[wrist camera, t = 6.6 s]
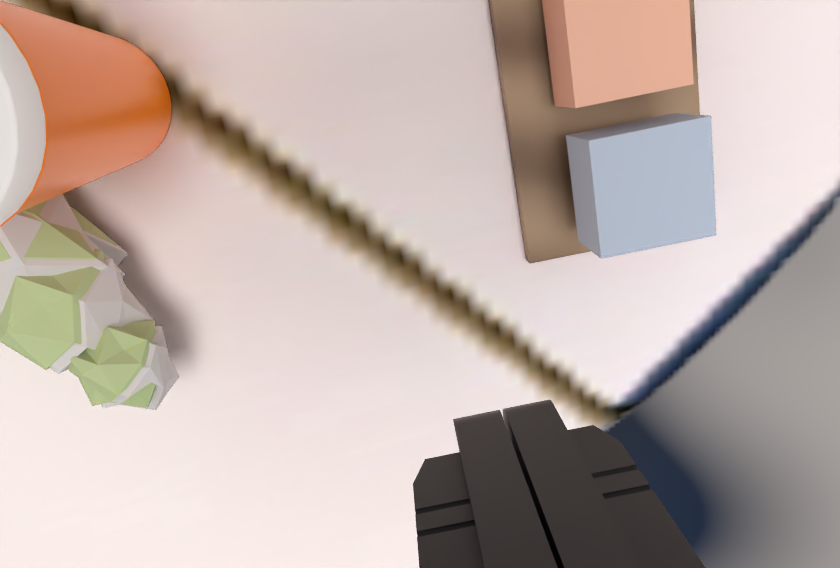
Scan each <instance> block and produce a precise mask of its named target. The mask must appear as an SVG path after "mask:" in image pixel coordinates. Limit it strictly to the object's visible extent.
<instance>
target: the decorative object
mask: <svg viewBox="0 0 840 568" xmlns="http://www.w3.org/2000/svg"><path fill="white" fill-rule="evenodd" d="M127 255H128V253H127V252H126V251H125V250H123V249H122V248H121V247H120V246H119V245H117V244H116V243H115V242H114V241H113V240H111V239H110V238H109V237H108V236H107V235H105V234H104V233H103V232H102V231H101V230H99V229H98V228H97V227H96V226H95V225H93V224H92V223H91V222H90V221H89V220H87V219H86V218H85V217H84V216H83V215H81V214H80V213H79V212H78V211H76V210H75V209H74V208H73V207H70V206H69V204H68V202H67V200H66V199H65V197H64V195H63V194H61V195H59V196H56V197H54V198H52V199H49V200H47V201H45V202H43V203H40V204H38V205H36V206H33V207H31V208H29V209H26V210H24V211H22V212H19V213H17V214H16V215H15V216H14V217H12V218H11V219H10V220H9V221H8V222H6V223H5V224H4V225H3V226H2V227H0V342H2V343H3V344H5V345H7V346H8V347H10V348H11V349H13V350H15V351H16V352H18V353H19V354H21V355H23V356H24V357H26V358H28V359H29V360H31V361H32V362H34V363H36V364H37V365H39V366H41V367H42V368H44V369H45V370H46V369H49V368H51V369H52V370H54V371H55V372H57V373H61V372H63V371H65V370H67V369H69V371H70V372H71V373H73V374H74V375H76V376H77V377H78V378H79V380H80V382H81V384H82V386H83V388H84V390H85V392H86V394H87V396H88V398H89V400H90V402H91V404H92V406H94V405H98V404H101V405H102V407H103V408H106V407H111V406H116V405H126V406H132V407H139V408H145V409H152V410H156V409H157V407H158V406H159V404H160V403H161V401H162V400H163V398H164V397H165V395H166V394H167V392H168V391H169V390H170V388H171V387H172V386H173V384H174V383H175V382H176V380H177V379H178V378H179V375H178V373H177V371H176V369H175V367H174V365H173V363H172V361H171V359H170V357H169V353H168V348H167V344H166V340H165V336H164V333H163V329H162V326H155V324H156V322H155V321H154V319H153V318H152V317H151V316H150V314H149V313H148V312H147V311H146V310H145V308H144V307H143V306H142V305H141V303H140V302H139V301H138V300H137V299H136V297H135V296H134V295H133V294H132V293H131V291H130V290H129V289H128V288H127V286H126V285H125V283H124V281H123V278H124V276H125V273H124V272H123V271H122V270H121V269H120V268H119V267H118V265H119V264H120V263H121V261H122V260H123V259H124V258H125V257H126V256H127Z"/></svg>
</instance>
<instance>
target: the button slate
mask: <svg viewBox="0 0 840 568" xmlns="http://www.w3.org/2000/svg"><path fill="white" fill-rule="evenodd" d="M566 141H567V149H568V158H569V166H570V175H571V183H572V192H573V200H574V209H575V217H576V226H577V234H578V241H579V242H580V243H582V244H583V245H584V246H586V247H587V248H588V249H590V250H591V251H592V252H593V253H595V254H596V255H597V256H599V257H600V258H601V259H602V258H607V257H611V256H616V255H621V254H626V253H631V252H636V251H641V250H646V249H651V248H656V247H661V246H666V245H671V244H676V243H680V242H685V241H690V240H695V239H700V238H705V237H710V236H715V235H716V217H715V195H714V173H713V152H712V130H711V116H705V115H692V114H680V113H672V114H668V115H663V116H658V117H653V118H648V119H643V120H638V121H633V122H628V123H623V124H618V125H614V126H609V127H604V128H599V129H594V130H589V131H584V132H579V133H574V134H569V135H566Z"/></svg>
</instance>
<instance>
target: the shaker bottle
mask: <svg viewBox="0 0 840 568" xmlns="http://www.w3.org/2000/svg"><path fill="white" fill-rule="evenodd" d="M171 106H172V104H171V98H170V93H169V89H168V87H167V84H166V81H165V79H164V77H163V75H162V74H161V72H160V70H159V68H158V67H157V66H156V65H155V63H154V62H153V61H152V60H151V59H150V57H149V56H147V55H146V54H145V53H144V52H143V51H141V50H140V49H139V48H138V47H136V46H134V45H133V44H131V43H129V42H127V41H125V40H123V39H120V38H117V37H114V36H111V35H108V34H105V33H102V32H98V31H95V30H92V29H89V28H86V27H83V26H79V25H76V24H73V23H70V22H67V21H64V20H60V19H57V18H54V17H51V16H48V15H45V14H42V13H38V12H35V11H32V10H29V9H26V8H23V7H19V6H16V5H13V4H10V3H7V2H4V1H0V227H2V226H3V225H4V224H5V223H6V222H8V221H9V220H10V219H11V218H12V217H14V216H15V215H16V214H17V213H19V212H22V211H24V210H26V209H29V208H31V207H33V206H36V205H38V204H40V203H43V202H45V201H47V200H49V199H52V198H54V197H56V196H59V195H61V194H63V193H66V192H68V191H70V190H73V189H75V188H77V187H80V186H82V185H84V184H87V183H89V182H91V181H94V180H96V179H98V178H101V177H103V176H105V175H107V174H110V173H112V172H114V171H117V170H119V169H121V168H124V167H126V166H128V165H131V164H133V163H135V162H138V161H140V160H141V159H143V158H145V157H147V156H149V155H150V154H151V153H152V152H153V151H155V150H156V149H157V148H158V146H159V145H160V144H161V142H162V141H163V140H164V138H165V135H166V133H167V131H168V129H169V125H170V120H171Z"/></svg>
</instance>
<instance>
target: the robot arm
mask: <svg viewBox="0 0 840 568" xmlns="http://www.w3.org/2000/svg"><path fill="white" fill-rule="evenodd" d="M503 419H504V420H503ZM453 421H454V426H455V431H456V436H457V441H458V446H459V451H460V452H459V453H454V454H449V455H444V456H439V457H434V458H429V459H425V461H424V463H423V465H422V467H421V469H420V471H419V473H418V475H417V477H416V479H415V481H414V483H413V489H414V502H415V511H416V528H417V535H418V537H417V541H418V554H419V567H420V568H705V567H704V565H703V564H702V562H701V561H700V559H699V558H698V556H697V555H696V553H695V552H694V550H693V549H692V547H691V546H690V544H689V543H688V542H687V540H686V538H685V537H684V536H683V534H682V533H681V531H680V530H679V528H678V527H677V525H676V524H675V522H674V521H673V519H672V518H671V516H670V515H669V513H668V512H667V510H666V509H665V507H664V506H663V504H662V503H661V501H660V500H659V499H658V497H657V495H656V494H655V492H654V491H653V490H651V489H650V487H649V484H648V482H647V481H646V479H645V478H644V476H643V475H642V473H641V472H640V470H637V468H636V465H635V463H634V461H633V460H632V458H631V457H630V455H629V454H628V452H627V451H626V449H625V448H624V447H623V445H622V444H621V442H620V441H618V440H617V439H615V438H613V437H612V436H610V435H609V434H607V433H605V432H604V431H602V430H600V429H599V428H597V427H596V426H594V425H592V426H587V427H582V428H577V429H572V430H567V428H566V427H565V425H564V423H563V421H562V419H561V417H560V416H559V414H558V412H557V410H556V408H555V406H554V404H553V403H552V401H551V400H545V401H540V402H535V403H530V404H525V405H521V406H516V407H511V408H506V409H503V417H502V414H501V412H500V410H497V411H492V412H487V413H482V414H477V415H472V416H467V417H462V418H457V419H453Z"/></svg>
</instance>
